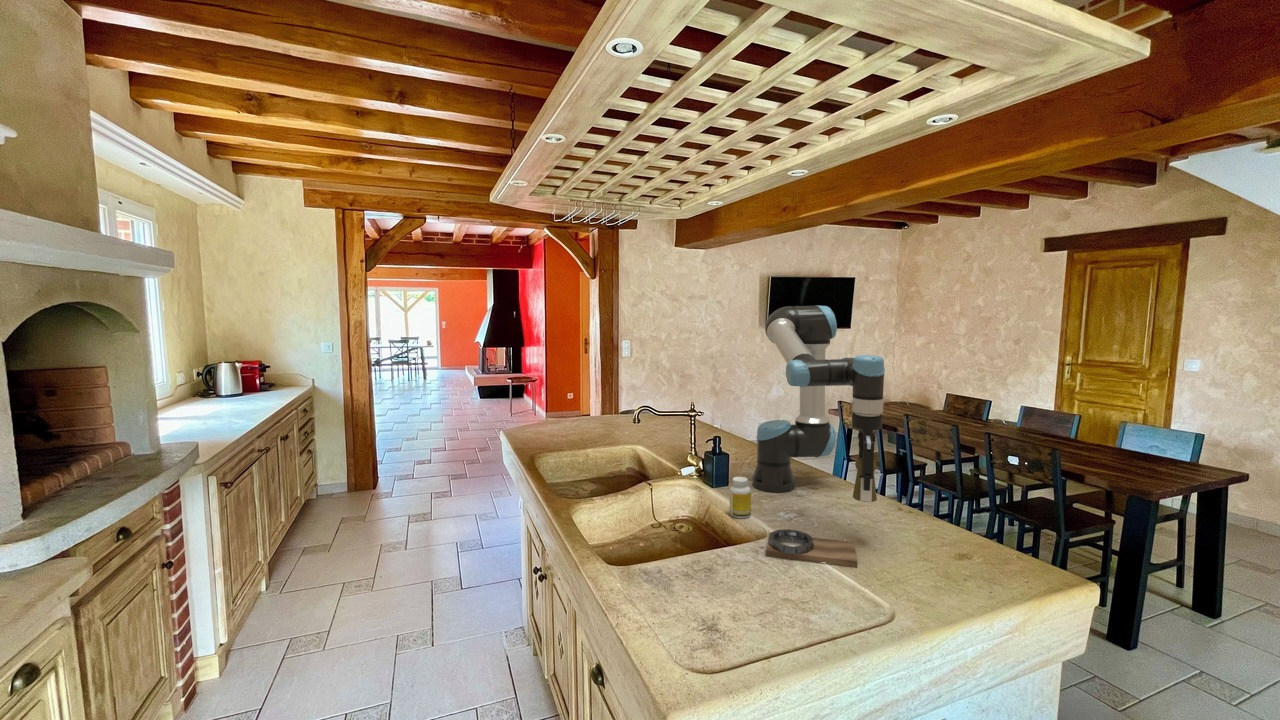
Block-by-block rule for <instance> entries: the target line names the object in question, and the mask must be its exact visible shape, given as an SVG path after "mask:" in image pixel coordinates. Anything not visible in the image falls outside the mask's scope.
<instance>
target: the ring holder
mask: <svg viewBox="0 0 1280 720" xmlns="http://www.w3.org/2000/svg"><path fill="white" fill-rule="evenodd" d="M769 533H770V534H768V538H769V545H770V546H771V547H772V548H773V549H775V550H778V551H780V552H783V553H789V554H803V553H808V552H810V551H811V550H813V547H814V539H813V538H814V537H813V536H811V535H810V534H808V533H807V532H806V533H805V532H803V531H801V530H797V529H789V528H788V529H786V528H785V529H776V530H774V531H772V532H769Z"/></svg>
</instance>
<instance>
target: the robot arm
mask: <svg viewBox="0 0 1280 720" xmlns="http://www.w3.org/2000/svg"><path fill="white" fill-rule="evenodd" d="M837 325H838V323H837V319H836V315H835V313H834V311H833V310H832V309H831V307H829V306H827V305H817V304H816V305H800V306H799V305H794V306H793V305H789V306H788V305H787V306H783V307H780V308H778V309H776V310H775V311H773V312H772V313H771V314H770V315H769V316H768V318H767V319H766V322H765V326H764V330H765V331H764V332H765V335H766V337H767V339H768V340H769V342H770V343H772V344H774V345H775V347H776V348H777V350H778V351H779V353H780V354H781V356H782V357H783V359H784V361H785V363H786V365H785V378H786V382H787V384H788V385H789V386H791V387H799V415H798V416H796V418H795V419H794V420H795V421H794V423H795V424H791V422H790V421H789V420H787V419H783V420H781V419H774V420H768V421H765V422H762V423H760V424H759V425H758V427H757V431H756V440H757V441H756V443H757V444H756V452H757V453H756V459H757V460H756V466H755V469H754V473H753V476H752V478H751V479H752V481H751V484H752V486H753V487H754V488H755V489H757V490H760V491H762V490H763V492H768V493H787V492H790V490H791V491H793V490H795V488H796V479H795V475H794V472H793V469H792V467H791V458H819V457H820V458H822V457H828V456H830V455H831V453H833V451H834V448H835V446H836V432H835V431H836V430H835V427H834V426H833V424H832V423H830V419H829V418H828V417H827V416H826V415H825V414H826V387H832V386H833V387H834V386H835V387H840V386H848V387H849V386H850V387H852V399H851V400H849V404H850V405H852V407H851V408H852V410H851V411H852V412H853V413H852V414H851V426H852V427H853V429H856V430H858V433H857V438H858V459H859V458H862V475H861V476H859V478H861V493H860V501H859V502H862V501H865V502H864V503H873V502H872V479H873V478H875V475H874V476H873V462H874V461H875V460H874V455H875V454H874V452H875V446H876V445H875V444H876V436H875V434H874V433H873V431H879V430H881V429H882V428H883V415H882V414H883V413H884V383H885V371H886V370H885V359H884V358H883V357H882V356H881V355H874V354H859V355H855V356H854V357H842V358H836V359H826V350H827V347H829V346H830V345H831V340H832V339H834V338H835V337H836V334H837V330H838V328H837V327H838V326H837ZM786 491H787V492H786Z"/></svg>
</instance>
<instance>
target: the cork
mask: <svg viewBox="0 0 1280 720" xmlns="http://www.w3.org/2000/svg"><path fill="white" fill-rule="evenodd" d="M854 466H855V469H856V475H855V480H854V481H855V482H854V486H853V487H854V488H853V493H852V498H853V499H854V500H856V501H858V502H862V503H863V502H864V503H866V502H865V501H860V493H861V478H859V476H861V475H862V458H859V457H858V458H857V459H856V461H855V464H854ZM876 469H877V462H876V461H875V460H874V462H873V476H874V478H873V479H872V502H871V503H873V502H877V500H878V498H877V497H878V496H877V488H876V481H875V479H876V478H875V471H876Z"/></svg>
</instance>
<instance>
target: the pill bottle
mask: <svg viewBox="0 0 1280 720" xmlns="http://www.w3.org/2000/svg"><path fill="white" fill-rule="evenodd" d="M748 482H749V480H748V477H745V476H734V477H733V478H732V485H731V486H730V488H729V513H730V515H731V516H732V517H734V518H737V519H746V518H747V519H748V518H749V517H750V516H751V515H752V491H751V490H752V489H751V488H750V486H749V485H748V484H749V483H748Z"/></svg>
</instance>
